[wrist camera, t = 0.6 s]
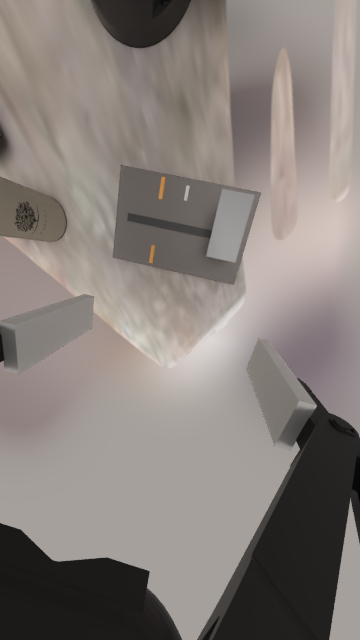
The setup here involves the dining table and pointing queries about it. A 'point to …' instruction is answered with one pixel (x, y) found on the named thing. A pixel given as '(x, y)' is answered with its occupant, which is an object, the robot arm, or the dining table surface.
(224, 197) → the fader
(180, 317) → the dining table surface
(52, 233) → the travel mug
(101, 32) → the dining table surface
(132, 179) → the console
